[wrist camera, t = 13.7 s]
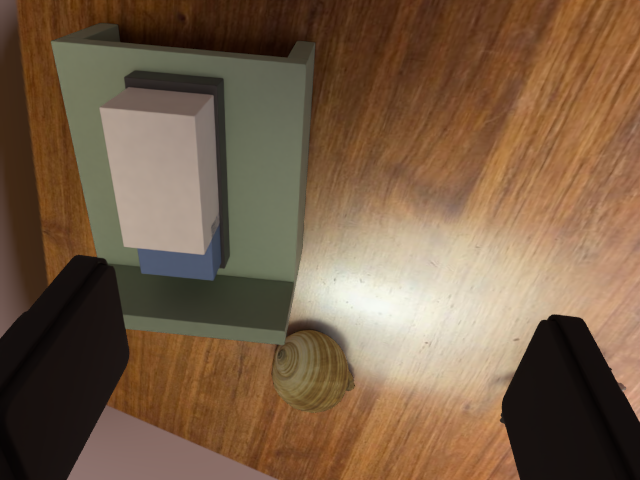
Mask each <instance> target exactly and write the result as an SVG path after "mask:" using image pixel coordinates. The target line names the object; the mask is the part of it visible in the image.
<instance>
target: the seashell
mask: <svg viewBox="0 0 640 480" xmlns="http://www.w3.org/2000/svg"><path fill="white" fill-rule="evenodd" d="M272 379H273V384H274V387H275V389H276V391H277V392H278V394H279V396H280V397H281V398H282V399H283V400H284V401H285V402H286V403H287V404H289V405H290V406H291V407H293V408H296V409H298V410H301V411H305V412H311V413H314V412H315V413H316V412H323V411H326V410H329V409H331V408H333V407H335V406H336V405H337V404H338V403H339V402H340V401H341V399H342V398H343V396H344V394H345V391H350V390H352V389H354V386H355V385H354V379H353V376H352V374H351V373H350V372H349V371H348V363H347V360H346V357H345V355H344V352H343V351H342V349H341V348H340V346H339V345H338V344H337V343H336V342H335V341H334V340H333V339H332V338H330V337H329V336H327V335H325V334H323V333H321V332H318V331H314V330H304V331H299V332H296V333H294V334H291V335H290V336H288V337H286V340H285V344H284V345H278V347H277V349H276V352H275V355H274V359H273V364H272Z"/></svg>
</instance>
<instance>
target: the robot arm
mask: <svg viewBox="0 0 640 480" xmlns="http://www.w3.org/2000/svg"><path fill="white" fill-rule="evenodd" d="M128 359H129V346H128V341H127V335H126V329H125V323H124V318H123V312H122V306H121V301H120V295H119V289H118V284H117V278H116V272H115V268H114V267H113V266H110V265H108V263H107V261H106V259H104V258H99V257H91V256H83V255H76V256H74V257H73V258H72V259H71V260H70V262H69V263H68V264H67V265H66V266H65V267H64V269H63V270H62V271H61V272H60V273H59V275H58V276H57V277H56V278H55V279H54V280H53V282H52V283H51V284H50V285H49V286H48V288H47V289H46V290H45V291H44V292H43V294H42V295H41V296H40V297H39V298H38V299H37V301H36V302H35V303H34V304H33V305H32V307H31V308H30V309H29V310H28V311H27V312H24V313H23V314H22V315H21V316H20V317H19V318H18V319H17V320H16V321H15V322H14V323H13V324H12V326H11V327H10V328H9V329H8V330H7V331H6V333H5V334H4V335H3V336H2V337H1V338H0V480H67V478H68V476H69V474H70V472H71V470H72V468H73V467H74V465H75V463H76V461H77V459H78V457H79V455H80V453H81V451H82V450H83V448H84V446H85V444H86V442H87V440H88V438H89V436H90V434H91V432H92V430H93V429H94V427H95V425H96V423H97V421H98V419H99V417H100V415H101V413H102V412H103V410H104V408H105V406H106V404H107V402H108V400H109V398H110V396H111V395H112V393H113V391H114V389H115V387H116V385H117V383H118V381H119V379H120V377H121V376H122V374H123V372H124V370H125V368H126V366H127V363H128ZM502 414H503V418H504V422H505V426H506V429H507V433H508V437H509V440H510V444H511V448H512V451H513V455H514V459H515V462H516V466H517V470H518V473H519V477H520V480H640V422H639V420H638V418H637V416H636V415H635V413H634V411H633V409H632V407H631V405H630V403H629V402H628V400H627V398H626V396H625V394H624V393H623V391H622V390H621V388H620V387H619V385H618V383H617V381H616V379H615V377H614V375H613V374H612V372H611V370H610V368H609V366H608V364H607V362H606V361H605V359H604V357H603V355H602V353H601V351H600V349H599V347H598V346H597V344H596V342H595V340H594V338H593V336H592V334H591V333H590V331H589V329H588V327H587V325H586V323H585V322H584V320H583V319H581V318H579V317H571V316H563V315H555V314H554V315H551V316H550V317H549V318H548V319H547V320H542V321H540V323H539V324H538V326H537V329H536V331H535V333H534V335H533V337H532V339H531V341H530V343H529V345H528V347H527V349H526V352H525V354H524V356H523V358H522V360H521V362H520V364H519V366H518V368H517V370H516V372H515V375H514V377H513V379H512V381H511V383H510V385H509V387H508V389H507V391H506V393H505V395H504V398H503V401H502Z"/></svg>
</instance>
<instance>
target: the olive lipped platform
mask: <svg viewBox="0 0 640 480" xmlns="http://www.w3.org/2000/svg"><path fill="white" fill-rule="evenodd" d="M51 44H52V49H53V53H54V58H55V63H56V67H57V72H58V77H59V81H60V86H61V91H62V95H63V100H64V104H65V109H66V114H67V118H68V123H69V128H70V132H71V137H72V142H73V146H74V151H75V156H76V160H77V165H78V170H79V174H80V179H81V184H82V188H83V193H84V197H85V202H86V207H87V211H88V216H89V221H90V225H91V230H92V235H93V239H94V244H95V249H96V253H97V257H99V258H104V259H106V261H107V263H108V265H110V266H113V267H114V268H115V272H116V278H117V284H118V289H119V295H120V301H121V306H122V312H123V318H124V323H125V329H133V330H143V331H153V332H162V333H172V334H181V335H191V336H200V337H210V338H219V339H229V340H238V341H248V342H258V343H267V344H277V345H284V344H285V340H286V335H287V329H288V324H289V318H290V313H291V308H292V302H293V297H294V291H295V286H296V281H297V275H298V270H299V265H300V259H301V254H302V247H303V232H304V216H305V200H306V184H307V168H308V152H309V136H310V120H311V104H312V88H313V72H314V56H315V42H305V41H297V42H296V44H295V45H294V47H293V49H292V51H291V52H290V54H289V56H288V58H286V57H275V56H264V55H253V54H242V53H231V52H220V51H209V50H198V49H187V48H177V47H166V46H155V45H144V44H133V43H122V42H120V36H119V29H118V25H117V24H107V23H99V24H96V25H94V26H91V27H88V28H85V29H83V30H80V31H77V32H75V33H72V34H69V35H66V36H64V37H61V38H58V39H55V40H53V41H51ZM134 70H137V71H148V72H159V73H170V74H181V75H191V76H202V77H213V78H223V79H224V104H225V132H226V160H227V189H228V217H229V245H230V257H229V260H228V262H227V265H226V267H225V269H221V268H219V269H218V271H217V274H216V276H215V278H214V280H213V281H211V280H201V279H192V278H182V277H172V276H162V275H152V274H142V273H141V269H140V263H139V257H138V251H137V248H131V247H124V244H123V239H122V233H121V227H120V222H119V216H118V210H117V205H116V199H115V193H114V188H113V182H112V176H111V171H110V165H109V159H108V154H107V148H106V142H105V137H104V131H103V126H102V120H101V114H100V109H99V108H100V107H101V106H102V105H104V104H105V103H106V102H108V101H109V100H111V99H112V98H114V97H115V96H117V95H118V94H120V93H121V92H122V91H124V90H125V82H124V77H125V76H126V75H128V74H130V73H131V72H133V71H134Z"/></svg>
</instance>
